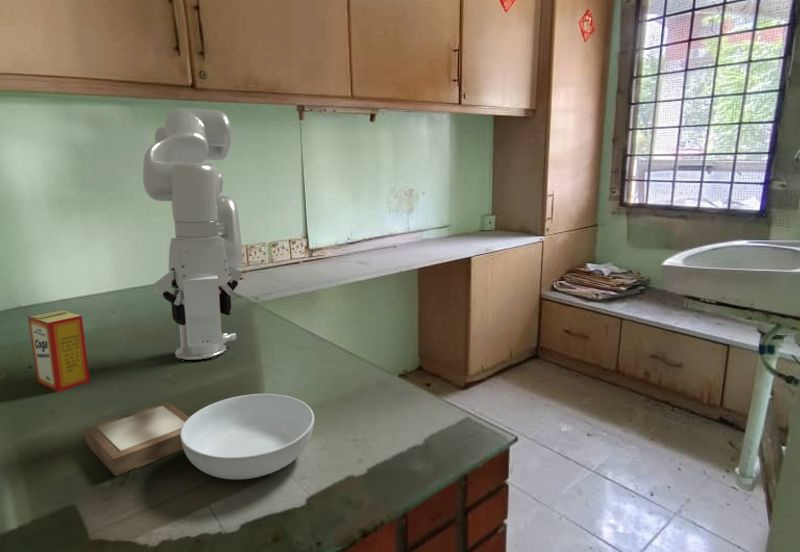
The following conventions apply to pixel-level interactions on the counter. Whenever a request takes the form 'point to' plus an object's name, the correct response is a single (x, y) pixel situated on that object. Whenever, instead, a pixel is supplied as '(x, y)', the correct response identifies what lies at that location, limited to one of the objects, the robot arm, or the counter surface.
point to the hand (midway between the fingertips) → (203, 318)
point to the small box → (202, 311)
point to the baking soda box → (59, 349)
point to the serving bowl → (247, 435)
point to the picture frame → (137, 437)
